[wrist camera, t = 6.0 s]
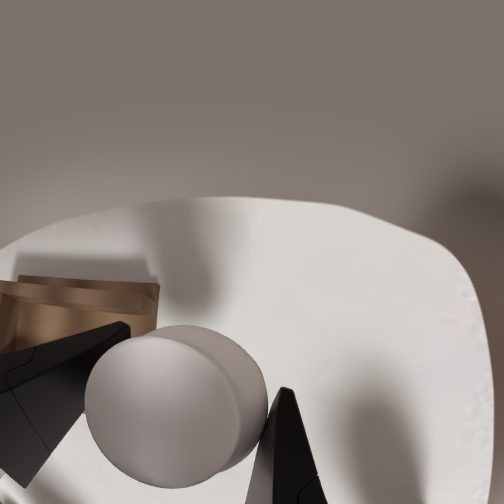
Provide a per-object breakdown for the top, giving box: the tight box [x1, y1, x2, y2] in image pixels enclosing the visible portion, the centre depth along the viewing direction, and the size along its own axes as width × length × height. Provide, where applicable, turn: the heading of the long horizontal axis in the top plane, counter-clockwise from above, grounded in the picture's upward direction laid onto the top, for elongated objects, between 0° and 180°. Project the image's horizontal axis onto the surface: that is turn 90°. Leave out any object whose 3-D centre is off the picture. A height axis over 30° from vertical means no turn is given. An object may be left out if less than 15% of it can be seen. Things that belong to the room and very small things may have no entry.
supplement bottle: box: [85, 325, 268, 489], centre depth 10 cm, size 5×5×10 cm
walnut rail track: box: [0, 275, 160, 414], centre depth 20 cm, size 17×12×4 cm
